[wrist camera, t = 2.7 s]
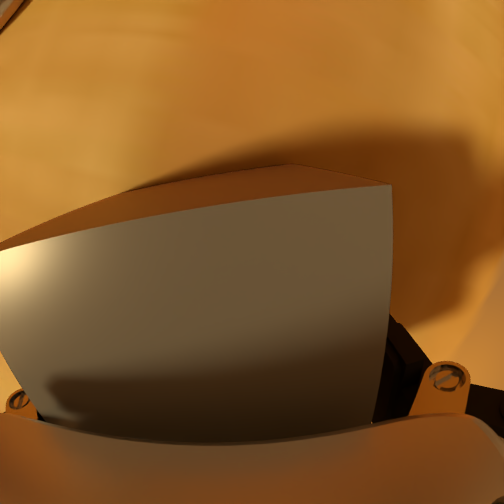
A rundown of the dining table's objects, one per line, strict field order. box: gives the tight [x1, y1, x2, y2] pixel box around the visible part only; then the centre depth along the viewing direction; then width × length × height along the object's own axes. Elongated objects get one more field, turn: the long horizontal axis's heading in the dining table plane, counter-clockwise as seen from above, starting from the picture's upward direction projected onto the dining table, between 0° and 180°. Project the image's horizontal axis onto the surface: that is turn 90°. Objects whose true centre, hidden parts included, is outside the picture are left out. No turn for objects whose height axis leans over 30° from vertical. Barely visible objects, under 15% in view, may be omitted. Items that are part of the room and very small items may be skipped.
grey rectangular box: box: [0, 164, 393, 443], centre depth 9 cm, size 10×8×9 cm
